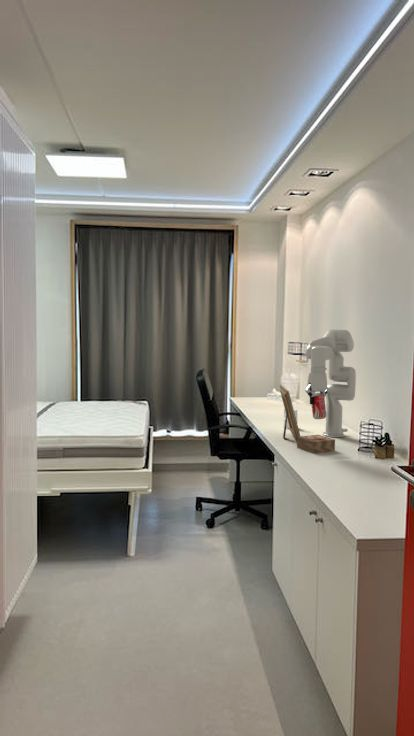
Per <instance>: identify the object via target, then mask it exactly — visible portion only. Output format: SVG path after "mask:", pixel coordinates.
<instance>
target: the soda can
mask: <svg viewBox="0 0 414 736" xmlns="http://www.w3.org/2000/svg"><path fill="white" fill-rule="evenodd" d="M314 397H315V404H314V405H312V404H310V405H311V410H312V418H313V419H314V420H324V419H326V401H325V399H326V398H325V399H324V395H323V393H320V392H318V393H317V392H315V394H314Z"/></svg>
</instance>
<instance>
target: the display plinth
mask: <svg viewBox="0 0 414 736" xmlns="http://www.w3.org/2000/svg"><path fill="white" fill-rule="evenodd" d="M296 448H297V449H299V448H300V450H302V451H306V452H309V453H311V454H319V453H320V454H321V453H328V452H335V451H336V439H334V438H332V437H327V436H324V435H321V434H310V435H303V436H301V435H300V437H297V443H296Z"/></svg>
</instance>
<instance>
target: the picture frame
mask: <svg viewBox="0 0 414 736" xmlns="http://www.w3.org/2000/svg"><path fill="white" fill-rule="evenodd" d="M279 388H280V389H279V392H280V395H281V399H282V404H283V407H284V408H283V409H285V412H286V420H285V427H284V428H283V434H282V438H283V440H284V441H285V440H286V434H287V432H286V431H287V429H286V425H287V419H288V423H289V427H290V429H289V431H290V433H291V434H292V436H293V437H294V439H295V440H297V437H300V436H301V433H300V429H299V426H298V420H297V421H296V417H295V413H294V405H293V402H292V398H291V394H290V391H289V390H288V389H287V388H286V387H285V386H284V385H283V384H279Z"/></svg>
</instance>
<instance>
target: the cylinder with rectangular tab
mask: <svg viewBox="0 0 414 736" xmlns="http://www.w3.org/2000/svg"><path fill="white" fill-rule="evenodd" d="M293 409H294V408H293ZM294 413H295V417H296V421H297V422H298V409H294ZM285 420H286V412H285V408H283V423H282V426H283V427H282V428H283V429H284V427H285ZM286 430H290V427H289V423H288V419H287V425H286Z"/></svg>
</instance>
